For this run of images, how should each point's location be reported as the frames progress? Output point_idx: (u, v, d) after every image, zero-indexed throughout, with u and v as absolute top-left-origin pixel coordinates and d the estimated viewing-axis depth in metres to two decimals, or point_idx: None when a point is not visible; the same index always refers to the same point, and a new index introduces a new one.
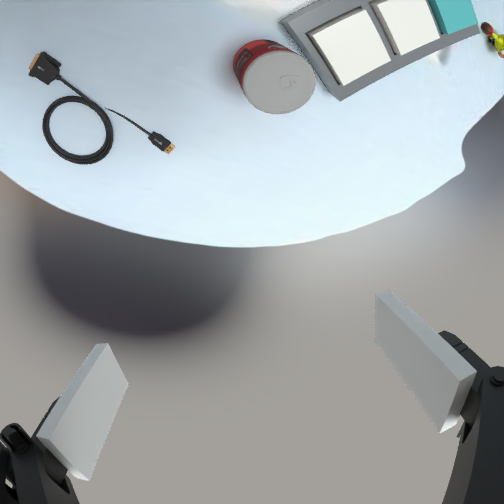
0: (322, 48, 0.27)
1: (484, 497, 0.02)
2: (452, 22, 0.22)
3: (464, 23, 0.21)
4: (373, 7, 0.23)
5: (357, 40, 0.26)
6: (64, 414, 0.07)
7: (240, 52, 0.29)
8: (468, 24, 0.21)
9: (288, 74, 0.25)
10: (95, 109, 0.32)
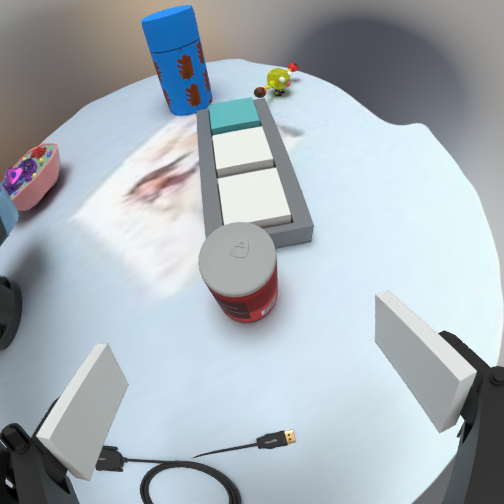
0: None
1: (484, 497, 0.02)
2: (248, 115, 0.47)
3: (250, 107, 0.48)
4: (222, 174, 0.42)
5: (245, 191, 0.38)
6: (64, 414, 0.07)
7: None
8: (251, 104, 0.49)
9: (231, 246, 0.28)
10: (181, 465, 0.26)
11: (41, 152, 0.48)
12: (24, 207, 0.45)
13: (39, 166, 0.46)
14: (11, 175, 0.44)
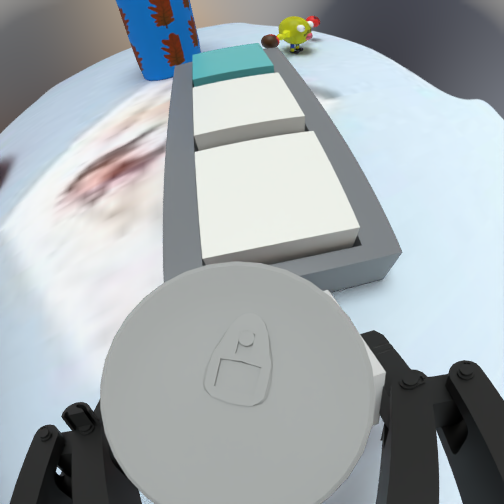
0: (244, 247, 0.15)
1: (410, 503, 0.03)
2: (254, 61, 0.26)
3: (257, 52, 0.27)
4: (205, 146, 0.21)
5: (252, 174, 0.17)
6: None
7: None
8: (259, 49, 0.28)
9: (206, 356, 0.07)
10: None
11: None
12: None
13: None
14: None
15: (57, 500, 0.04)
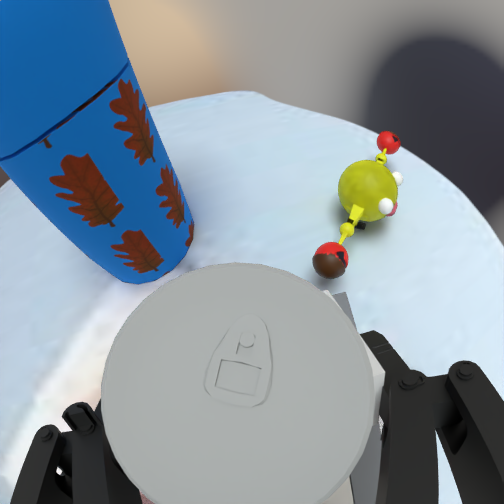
0: None
1: (409, 503, 0.03)
2: None
3: None
4: None
5: None
6: None
7: None
8: None
9: (206, 358, 0.07)
10: None
11: None
12: None
13: None
14: None
15: (57, 500, 0.04)
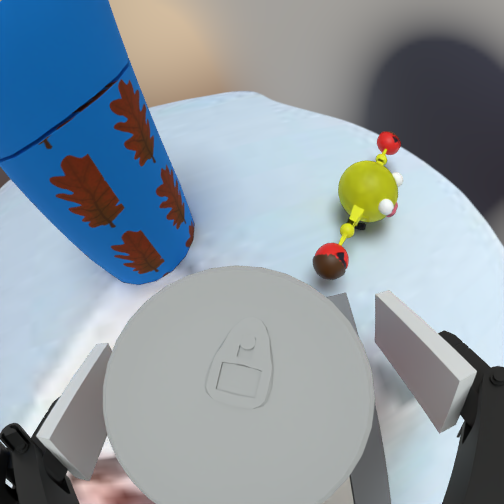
0: None
1: (484, 497, 0.02)
2: None
3: None
4: None
5: None
6: (64, 414, 0.07)
7: None
8: None
9: (208, 360, 0.07)
10: None
11: None
12: None
13: None
14: None
15: None
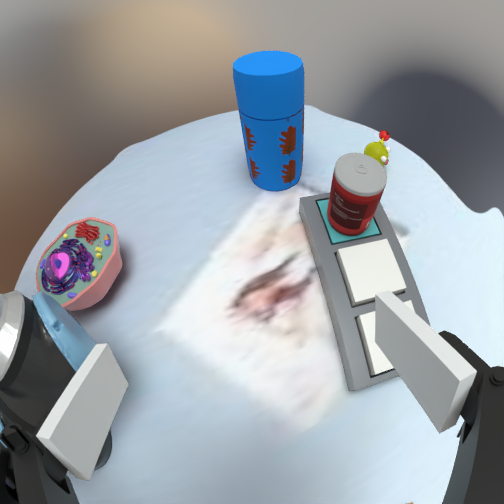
0: (389, 368, 0.32)
1: (484, 497, 0.02)
2: None
3: None
4: (357, 303, 0.38)
5: None
6: (64, 414, 0.07)
7: (332, 218, 0.43)
8: None
9: (354, 167, 0.37)
10: None
11: (91, 232, 0.45)
12: (82, 308, 0.42)
13: (96, 258, 0.42)
14: (55, 265, 0.40)
15: None
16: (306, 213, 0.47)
